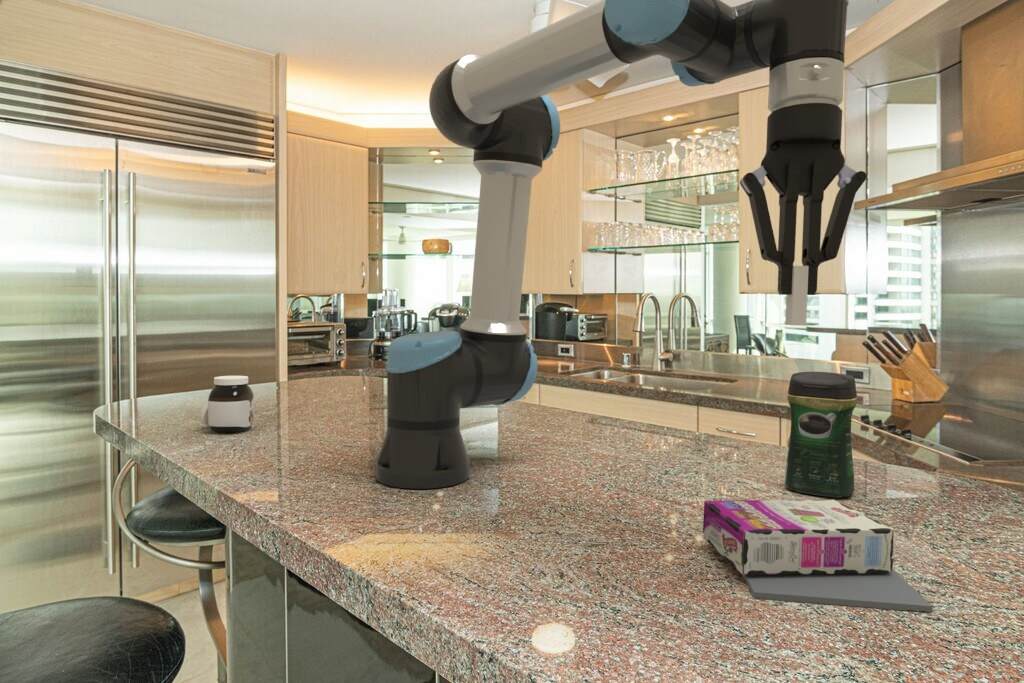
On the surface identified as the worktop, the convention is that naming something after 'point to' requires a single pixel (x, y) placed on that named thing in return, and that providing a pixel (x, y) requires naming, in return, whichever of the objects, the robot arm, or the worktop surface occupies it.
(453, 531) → the worktop surface
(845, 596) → the mat
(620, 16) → the robot arm
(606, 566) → the worktop surface
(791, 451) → the coffee jar
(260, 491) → the worktop surface
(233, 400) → the spread jar
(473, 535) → the worktop surface
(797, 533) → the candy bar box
